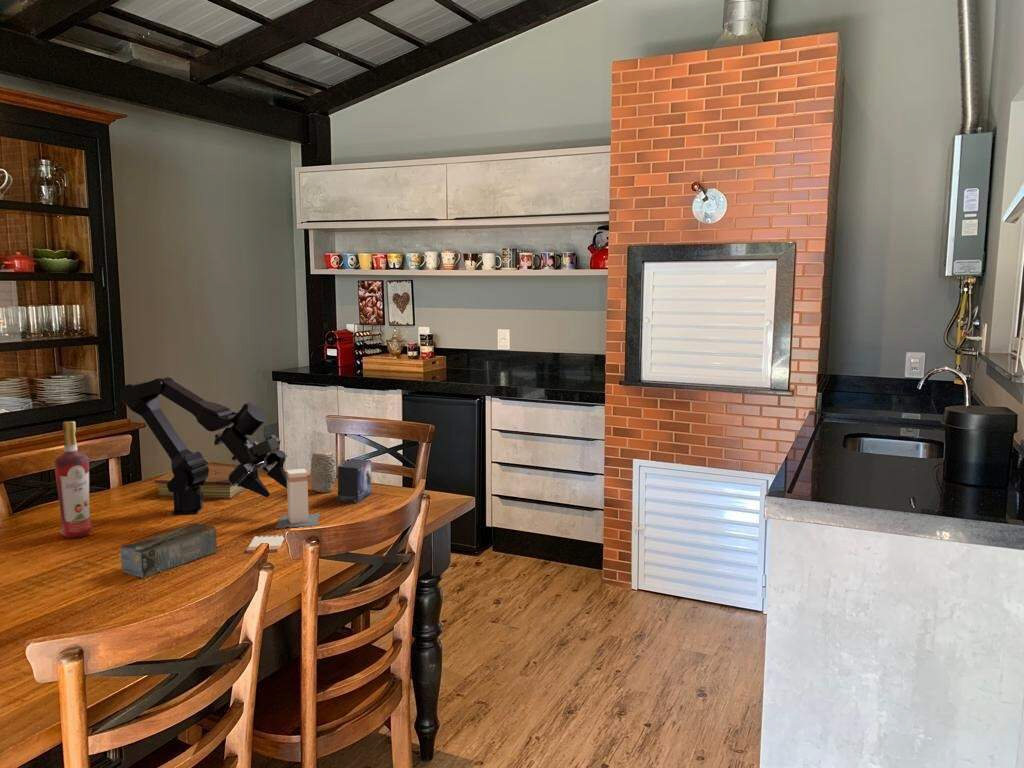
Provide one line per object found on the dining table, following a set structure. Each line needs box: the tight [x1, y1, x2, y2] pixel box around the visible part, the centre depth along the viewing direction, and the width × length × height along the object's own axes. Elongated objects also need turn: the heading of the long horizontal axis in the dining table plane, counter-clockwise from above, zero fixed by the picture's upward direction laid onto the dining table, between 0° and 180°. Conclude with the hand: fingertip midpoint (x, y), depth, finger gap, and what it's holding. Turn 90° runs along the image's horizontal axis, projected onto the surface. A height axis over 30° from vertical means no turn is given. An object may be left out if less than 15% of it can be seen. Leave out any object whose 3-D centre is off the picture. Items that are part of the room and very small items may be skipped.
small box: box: [337, 458, 372, 504], centre depth 220 cm, size 11×6×10 cm, turn 168°
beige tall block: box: [285, 468, 309, 524], centre depth 197 cm, size 5×5×13 cm
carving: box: [309, 449, 337, 493], centre depth 227 cm, size 6×8×12 cm
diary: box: [154, 465, 260, 500], centre depth 228 cm, size 23×19×6 cm
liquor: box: [53, 420, 93, 539], centre depth 184 cm, size 7×7×28 cm
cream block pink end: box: [245, 534, 285, 554], centre depth 180 cm, size 10×7×1 cm
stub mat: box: [274, 513, 321, 529], centre depth 198 cm, size 10×10×1 cm
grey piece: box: [119, 522, 218, 579], centre depth 169 cm, size 8×19×7 cm, turn 149°
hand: (278, 491), depth 198 cm, fingers open, 9 cm apart
